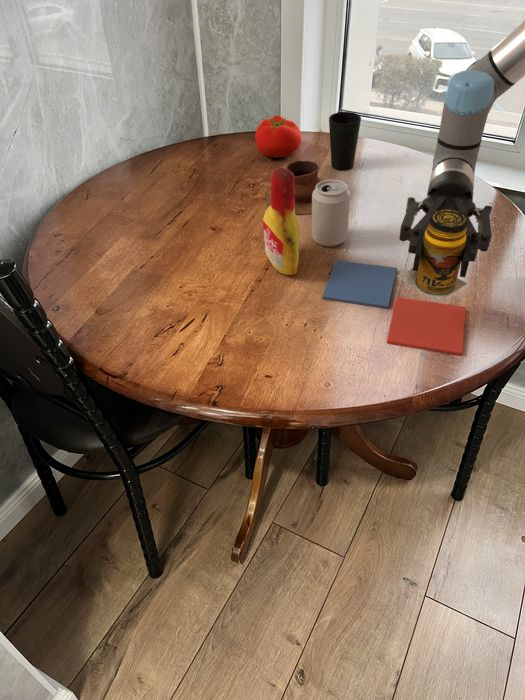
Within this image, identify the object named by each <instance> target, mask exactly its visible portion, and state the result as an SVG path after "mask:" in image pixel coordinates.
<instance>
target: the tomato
mask: <svg viewBox="0 0 525 700" xmlns="http://www.w3.org/2000/svg"><path fill="white" fill-rule="evenodd" d="M254 138H255V145H256V148H257V150H258V152H259V153H261V154H262V156H264V157H266V158H269V159H271V158H274V157H276V158H285V157H287V156H289V155H291V154H293V153H295V151H297V150H298V149H299V148H300V147H301V145H302V139H303V137H302V132H301V130H300V128H299V126H298V125H297V124H296V123H295V122H294V121H293V120H290V119H288V117H287V118H285V117H282V116H281V115H274V116H272V117H270V118H266V119H264V120H262V121H261V122H260V123H259V125H258V126H257V128H256V131H255V136H254Z"/></svg>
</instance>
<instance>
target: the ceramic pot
mask: <svg viewBox="0 0 525 700" xmlns="http://www.w3.org/2000/svg"><path fill="white" fill-rule="evenodd" d="M285 168H286V169H288V170H290V171H291V172H292V173H293V174H294V189H295V197H294V200H295V215H302V214H303V215H304V214H305V215H307V214H308V215H309V214H312V193H313V191H314V190H315V189H316V188H315V187H316V185H317V184H318V183H319V182H321V181H324V180H325V179H324V178H321V177H319V175H318V173H319V171H320V165H319V164H317V163H316V162H314V161H310V160H295V161H291V162H290V163H288V164H287V165H286V166H285ZM264 199H266V202H267V204H268V205H269V206H270V205H271V186H270V187H269V189H267V190H266V192H265V197H264Z"/></svg>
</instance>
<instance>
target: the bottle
mask: <svg viewBox="0 0 525 700" xmlns="http://www.w3.org/2000/svg"><path fill="white" fill-rule="evenodd" d="M270 187H271V205H270V204H269V205H268V207H267V209H266V210H265V213H264V215H263V218H262V228H263V239H264V250H265V251H264V252H265V254H266V257H267V259H268V260H269V262H270V263H271V265H272V266H273V268H274V269H275V270H276V271H277V272H279V273H280V274H282V275H285V276H292V275H295V274H296V273H297V271H298V266H299V260H300V256H299V255H300V234H301V233H300V232H301V231H300V230H301V228H300V222H299V220H298V217H297V214H295V200H294V197H295V189H294V174H293V173H292V172H291V171H290V170H288V169H286V167H278V168H277V169H275V170H273V171H272V173H271V178H270Z"/></svg>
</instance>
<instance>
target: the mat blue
mask: <svg viewBox="0 0 525 700" xmlns="http://www.w3.org/2000/svg"><path fill="white" fill-rule="evenodd" d="M397 272H398V268H397V267H394V266H385V265H377V264H371V263H363V262H355V261H348V260H339V259H335V260H334V263H333V267H332V269H331V272H330V275H329V278H328V280H327V283H326V285H325V289H324V290H323V294H322V297H321V298H322V299H323V300H327V301H333V302H341V303H347V304H352V305H353V304H355V305H360V306H367V307H368V306H369V307H373V308H381V309H387V310H388V309H389V308H390V307H389V306H390V303H391V299H392V298H391V297H392V295H393V290H394V289H393V288H394V284H395V280H396V276H397Z"/></svg>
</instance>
